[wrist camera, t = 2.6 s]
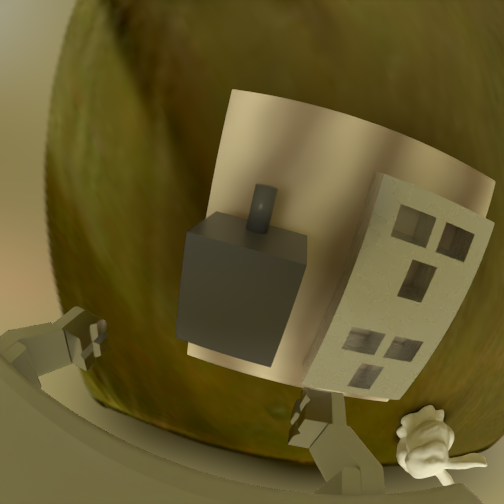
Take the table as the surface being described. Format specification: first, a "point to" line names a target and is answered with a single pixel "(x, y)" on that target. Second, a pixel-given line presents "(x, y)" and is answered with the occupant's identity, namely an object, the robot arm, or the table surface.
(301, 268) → the plug
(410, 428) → the rabbit
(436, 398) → the table surface
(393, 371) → the socket
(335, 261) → the board
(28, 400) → the robot arm
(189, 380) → the table surface
